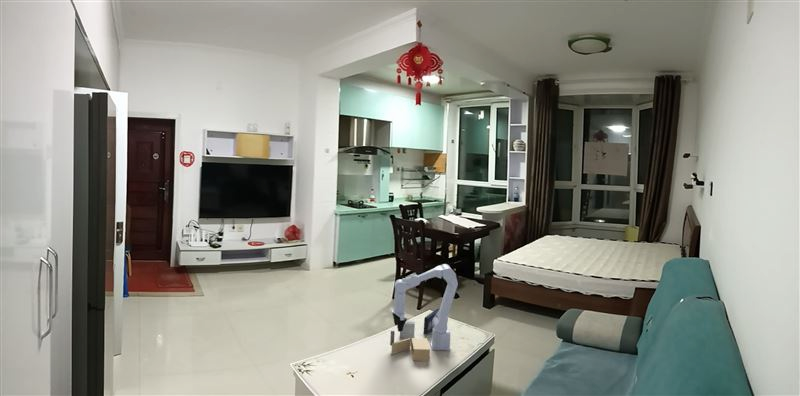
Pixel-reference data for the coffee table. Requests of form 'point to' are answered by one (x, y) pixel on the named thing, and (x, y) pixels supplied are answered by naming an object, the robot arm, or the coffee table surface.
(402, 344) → the wooden box lid
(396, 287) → the robot arm
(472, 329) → the coffee table surface
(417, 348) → the carton
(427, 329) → the vhs cassette tape
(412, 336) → the medicine box
